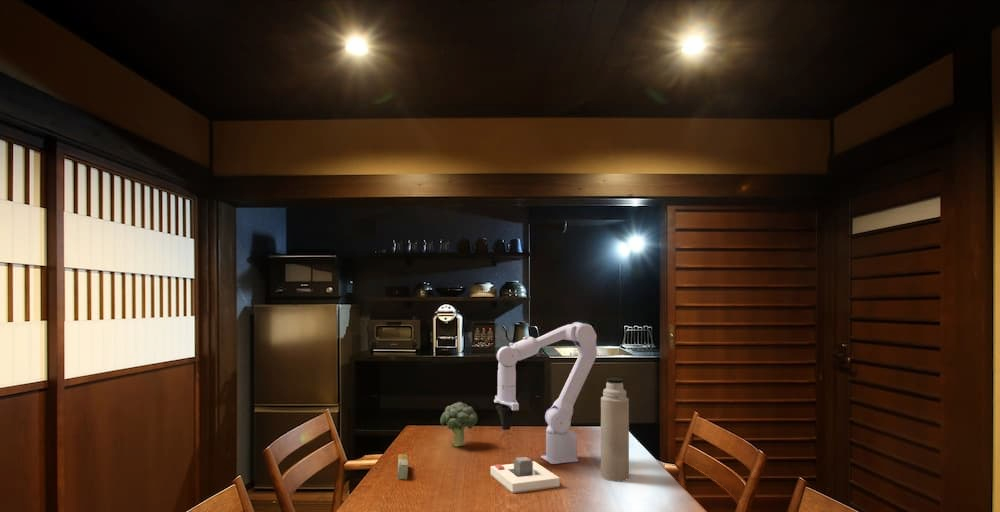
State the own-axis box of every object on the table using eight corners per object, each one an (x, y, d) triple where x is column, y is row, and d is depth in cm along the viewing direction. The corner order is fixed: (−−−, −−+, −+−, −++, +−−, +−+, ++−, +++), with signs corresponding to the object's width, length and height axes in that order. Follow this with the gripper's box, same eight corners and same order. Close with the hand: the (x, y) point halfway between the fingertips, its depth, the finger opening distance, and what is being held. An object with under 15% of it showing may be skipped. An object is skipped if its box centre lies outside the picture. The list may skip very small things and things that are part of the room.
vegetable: (434, 444, 195) (435, 400, 195) (465, 439, 202) (466, 396, 203) (452, 453, 185) (453, 406, 186) (484, 446, 192) (485, 402, 193)
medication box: (407, 480, 159) (408, 465, 159) (397, 480, 158) (398, 465, 158) (406, 467, 170) (407, 453, 171) (397, 467, 170) (398, 453, 170)
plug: (526, 476, 161) (526, 456, 162) (532, 480, 158) (532, 460, 158) (513, 477, 160) (513, 457, 160) (519, 482, 156) (519, 461, 156)
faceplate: (534, 469, 169) (534, 459, 169) (559, 486, 154) (559, 475, 154) (490, 474, 163) (490, 464, 164) (512, 493, 149) (512, 481, 149)
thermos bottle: (603, 471, 168) (603, 375, 170) (630, 474, 165) (630, 377, 167) (598, 479, 160) (598, 379, 162) (627, 482, 158) (627, 381, 160)
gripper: (486, 382, 183) (485, 425, 182) (503, 389, 169) (503, 436, 168) (506, 381, 185) (506, 423, 185) (525, 388, 172) (524, 434, 171)
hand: (506, 429), depth 177 cm, fingers closed
